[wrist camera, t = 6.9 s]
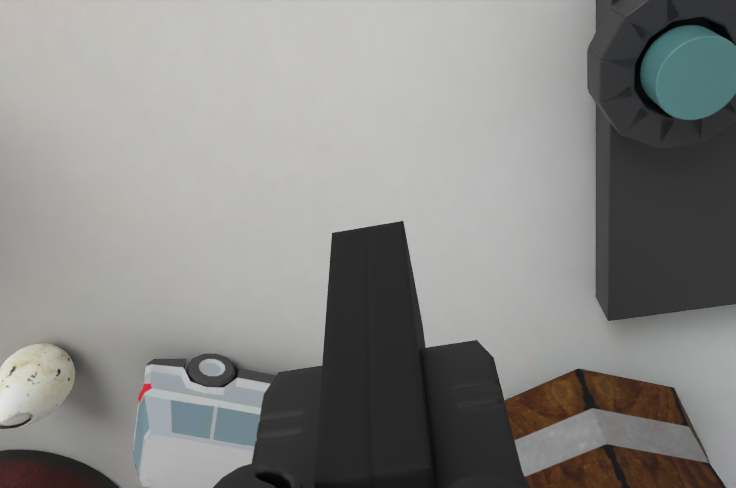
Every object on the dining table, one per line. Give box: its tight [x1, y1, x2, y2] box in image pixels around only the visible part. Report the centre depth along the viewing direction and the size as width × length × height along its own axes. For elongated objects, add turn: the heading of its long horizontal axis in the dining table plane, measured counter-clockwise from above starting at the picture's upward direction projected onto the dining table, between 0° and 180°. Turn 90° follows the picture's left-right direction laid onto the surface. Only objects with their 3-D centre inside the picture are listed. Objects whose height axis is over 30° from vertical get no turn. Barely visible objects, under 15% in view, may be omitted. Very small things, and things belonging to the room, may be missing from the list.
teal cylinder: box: [640, 25, 736, 120], centre depth 23 cm, size 3×3×2 cm
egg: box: [0, 343, 75, 430], centre depth 32 cm, size 3×3×5 cm
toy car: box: [133, 354, 276, 488], centre depth 34 cm, size 6×13×5 cm, turn 76°
